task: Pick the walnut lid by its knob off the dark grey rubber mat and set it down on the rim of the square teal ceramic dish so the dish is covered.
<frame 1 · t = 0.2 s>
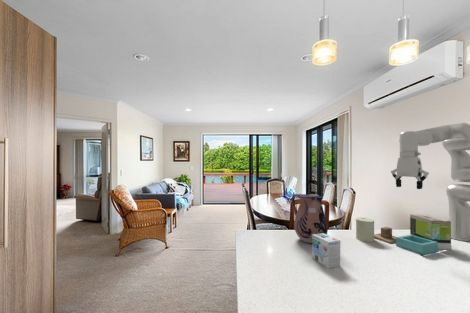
hand: (408, 187, 116), 31 cm above the counter, fingers open, 9 cm apart
tea box: (429, 245, 120), on the counter
lid: (386, 238, 127), point 1 cm above the counter, touching mat
ceramic pitcher: (307, 240, 125), on the counter
can: (365, 240, 126), on the counter
mat: (386, 239, 127), on the counter
light bulb box: (325, 262, 97), on the counter
dish: (416, 249, 113), on the counter
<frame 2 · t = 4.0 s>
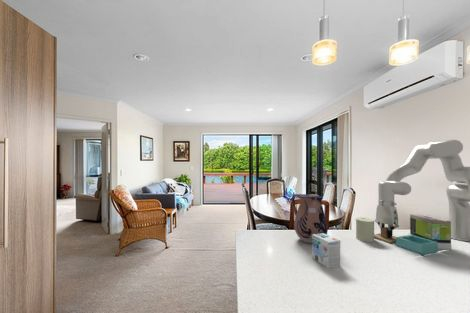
hand: (386, 235, 127), 2 cm above the counter, fingers closed on lid, 3 cm apart
lid: (386, 238, 127), point 1 cm above the counter, touching gripper, mat
everything else where it was.
when the fingers open (8 cm above the counter, at t = 8.9 s): lid drops 1 cm, resting on dish.
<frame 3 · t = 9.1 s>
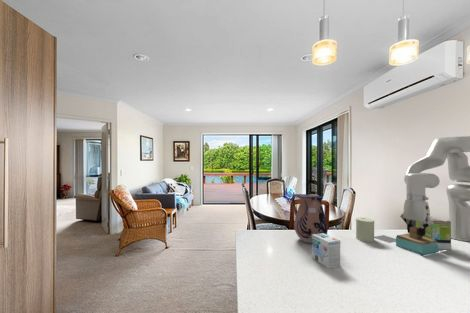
hand: (416, 233, 113), 8 cm above the counter, fingers open, 4 cm apart
lid: (416, 239, 113), point 5 cm above the counter, touching dish
everything else where it was.
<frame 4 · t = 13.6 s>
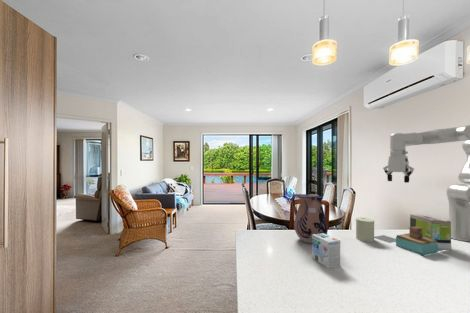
hand: (398, 181, 136), 32 cm above the counter, fingers open, 9 cm apart
nothing on the counter moved.
at the end: lid 0.1 cm off-centre on the dish, point 5.0 cm above the dish's base; lid tilted 0°; the gripper is holding nothing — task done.
